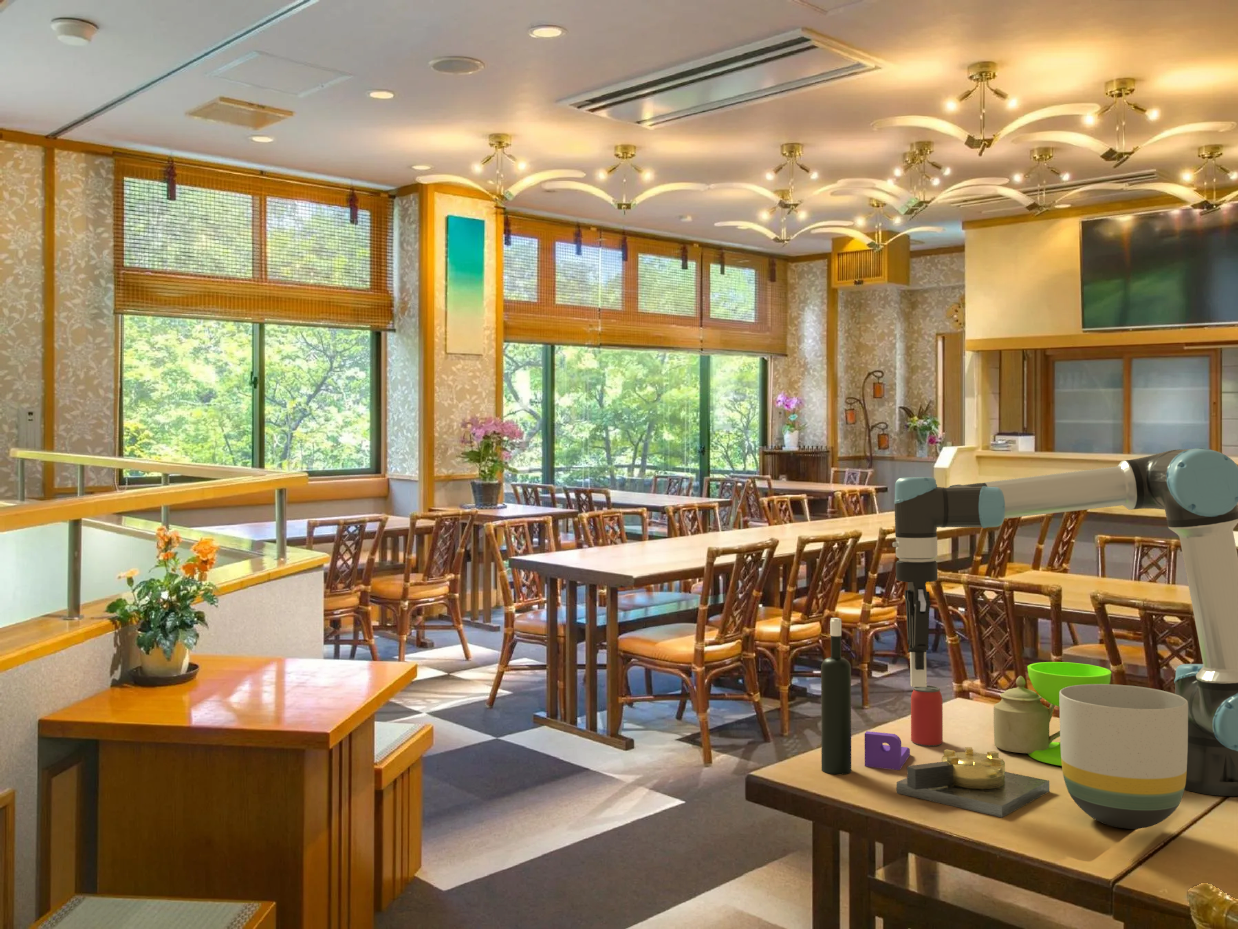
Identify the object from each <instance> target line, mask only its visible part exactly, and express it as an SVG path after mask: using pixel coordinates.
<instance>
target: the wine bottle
mask: <svg viewBox="0 0 1238 929" xmlns="http://www.w3.org/2000/svg"><path fill="white" fill-rule="evenodd" d="M829 624H830V625H829V626H830V627H829V628H830V629H829V630H830V631H829V635H830V657H826V658H825V659H823V661H822V662H821V664H820V666H821V667H820V671H821V672H820V677H821V678H820V688H821V690H820V692H821V696H820V698H821V699H820V700H821V702H820V704H821V705H820V707H821V708H820V709H821V710H820V711H821V712H820V713H821V714H820V715H821V718H820V719H821V722H820V723H821V724H820V726H821V730H820V731H821V733H820V734H821V743H820V744H821V745H820V747H821V748H820V749H821V750H820V751H821V757H820V758H821V771H822V772H824V773H826V774H830V775H848V774H850V773H851V772H852V666H851V663H850V661H849V660H848V659H846V658H844V657H842V618H839V617H830V621H829Z"/></svg>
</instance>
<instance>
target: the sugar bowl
mask: <svg viewBox="0 0 1238 929" xmlns="http://www.w3.org/2000/svg"><path fill="white" fill-rule="evenodd" d="M1015 684H1016V687H1013V688H1009V689H1006V690H1004V691H1003V692H1002V693H1000V694H999V696H1000V697H1001V700H999V701H998V702H997V703H995V704H994V705H993V741H994V742H993V743H994V744H993V745H994V746H995V747H996V748H998V749H999V750H1003V751H1006V752H1012V753H1016V754H1017V753H1020V754H1028V753H1033V752H1034V751H1036V750H1040V751H1043V750H1046V749H1048V748H1049V744H1050V743H1051V742H1054V741H1055V740H1056V739H1058V738H1060V730H1058V731H1057V732H1055V733H1053V734H1051V735H1050V725H1051V724H1050V723H1051V720H1052V718H1053V713H1054V709H1055V706H1056V705H1053V704H1051V703H1049V704H1050V705H1049V706H1048V707H1047V706H1046V705H1044V704H1043V703H1042V702H1041V700H1042V699H1043V698H1042V697H1041V696H1040V695H1039V694H1038V693H1037V691H1034V690H1031V689H1028V688H1026V687H1025V686H1026V684H1027V683H1026V679H1025V678H1024V677H1023V676H1022V675H1019V676H1018V677H1017V678H1016V680H1015Z"/></svg>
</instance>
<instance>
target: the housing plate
mask: <svg viewBox="0 0 1238 929" xmlns="http://www.w3.org/2000/svg"><path fill="white" fill-rule="evenodd" d="M1049 792H1050V780H1048V779H1044V778H1038V777H1033V776H1028V775H1022V774H1018V773H1014V772H1008V771H1005V784H1004V785H1003V786H1001V787H997V788H990V789H975V788H966V787H960V786H956V785H947V786H940V787H932V788H925V789H917V790H915V789H913V788H911V787H909V786H907V777H906V778H903V779H901V780H899V781H897V782H896V794H900V795H903V796H908V797H912V798H917V799H919V800H920V799H921V800H926V801H929V802H933V803H937V804H938V803H939V804H943V805H947V806H951V807H955V808H959V809H962V810H967V811H968V810H969V811H973V812H976V813H981V814H986V815H990V816H993V817H998V818H1004V817H1006V816H1007V815H1009V814H1011V813H1013V812H1015V811H1017V810H1019V809H1020V808H1022V807H1024V806H1026V805H1029V803H1031V802H1034V801H1035V800H1036V799H1038V798H1040V797H1042V796H1044V795H1047V794H1048V793H1049Z"/></svg>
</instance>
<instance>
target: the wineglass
mask: <svg viewBox="0 0 1238 929" xmlns="http://www.w3.org/2000/svg"><path fill="white" fill-rule="evenodd" d="M1027 674H1028V678H1029V680H1030V683H1031V685H1032V688H1033V689H1034V690H1035V692H1036V693H1037V694H1038V695H1040V696H1041V697H1042V699H1044V700H1045V701H1046V702H1048V703H1049V704H1053V705H1055V706H1056V707H1058V708H1060V706H1059V692H1060V690H1061V689H1063V688H1066V687H1070V686H1075V685H1086V684H1111V678H1112V671H1111V670H1110V669H1108V668H1107V667H1102V666H1097V665H1093V664H1088V663H1079V662H1078V663H1077V662H1067V661H1064V662H1063V661H1062V662H1061V661H1046V662H1044V661H1043V662H1033V663H1031V664H1028V665H1027ZM1027 755H1028V756H1029V757H1030V758H1031V759H1034V760H1036V761H1039V762H1042V763H1046V764H1051V765H1055V766H1060V767H1062V763H1061V746H1060V741H1059V742H1058V741H1052V742H1051V743H1050V744H1049V748H1048V749H1046V750H1043V751H1040V750H1036V751H1034V752H1033V753H1027Z"/></svg>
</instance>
